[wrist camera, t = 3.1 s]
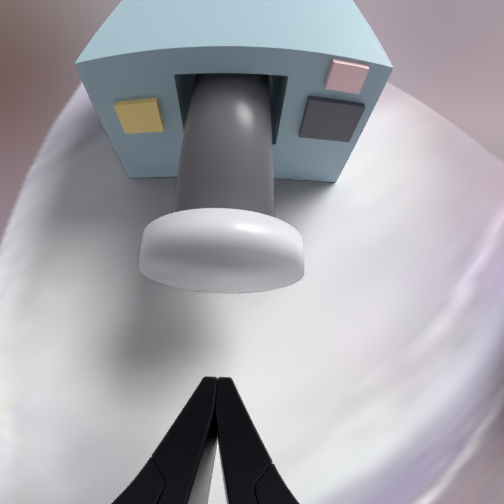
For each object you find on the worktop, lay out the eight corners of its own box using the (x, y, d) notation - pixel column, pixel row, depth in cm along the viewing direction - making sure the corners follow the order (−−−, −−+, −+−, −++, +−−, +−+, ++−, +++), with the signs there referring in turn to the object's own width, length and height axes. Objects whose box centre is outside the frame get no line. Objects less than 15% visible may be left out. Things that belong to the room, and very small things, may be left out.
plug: (289, 294, 14) (324, 249, 9) (160, 290, 14) (113, 245, 8) (277, 85, 19) (288, 13, 13) (190, 84, 19) (182, 12, 13)
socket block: (336, 186, 20) (395, 71, 10) (127, 182, 19) (72, 67, 10) (315, 74, 24) (338, -19, 14) (160, 71, 23) (143, -23, 14)
